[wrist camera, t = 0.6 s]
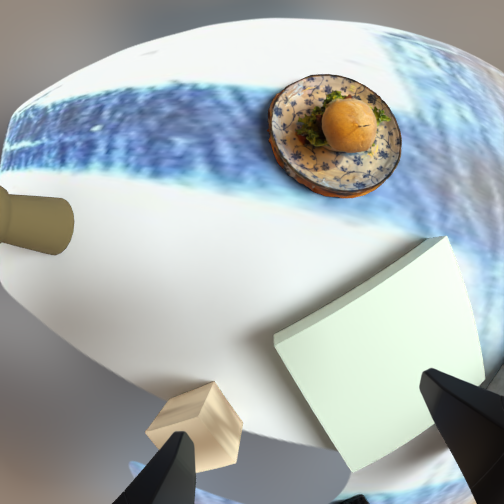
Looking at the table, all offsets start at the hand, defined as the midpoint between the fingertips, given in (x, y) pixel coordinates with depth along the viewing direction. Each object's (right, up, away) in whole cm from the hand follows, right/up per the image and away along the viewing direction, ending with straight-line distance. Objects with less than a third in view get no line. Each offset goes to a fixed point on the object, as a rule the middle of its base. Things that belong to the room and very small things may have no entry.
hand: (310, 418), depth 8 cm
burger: (+5, +16, +14) cm, 22 cm away
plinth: (+11, -4, +12) cm, 17 cm away
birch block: (-6, -9, +13) cm, 17 cm away
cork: (-23, +8, +15) cm, 28 cm away
